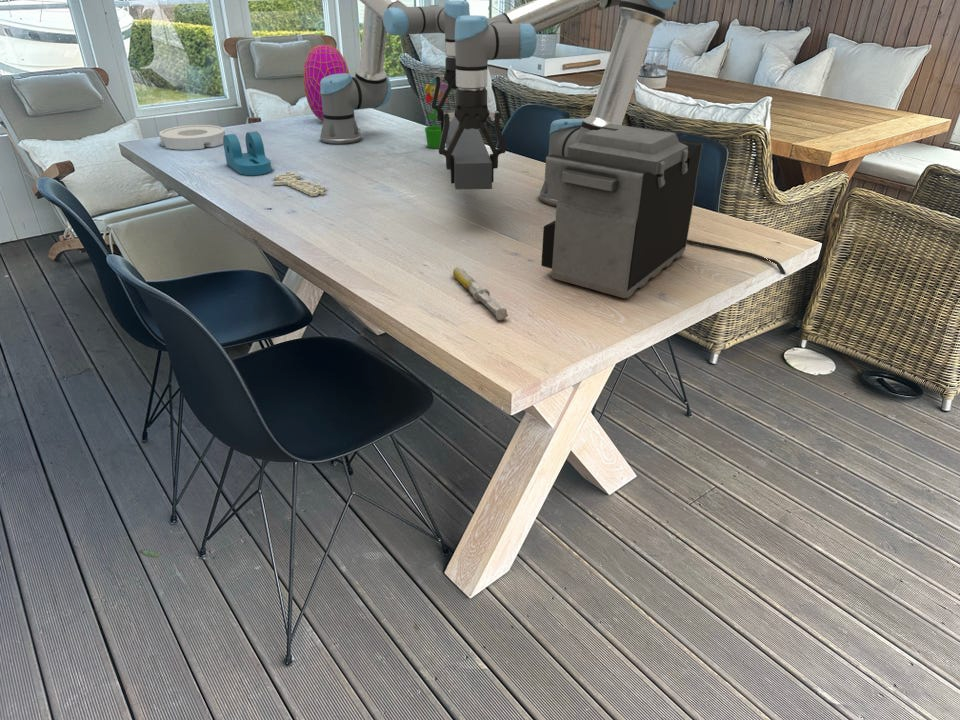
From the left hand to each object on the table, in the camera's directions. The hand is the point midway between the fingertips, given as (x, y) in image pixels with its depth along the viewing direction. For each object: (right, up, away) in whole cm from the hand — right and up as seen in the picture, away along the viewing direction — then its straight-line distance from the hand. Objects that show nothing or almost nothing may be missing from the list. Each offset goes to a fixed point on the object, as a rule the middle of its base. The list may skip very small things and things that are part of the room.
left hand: (457, 131), depth 224 cm
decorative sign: (-49, -21, -12) cm, 55 cm away
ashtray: (-101, +7, +35) cm, 107 cm away
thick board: (+3, -15, -24) cm, 29 cm away
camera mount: (-69, -11, +5) cm, 70 cm away
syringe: (+7, -62, -79) cm, 101 cm away
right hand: (+5, -29, -49) cm, 58 cm away
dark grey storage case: (+39, -53, -64) cm, 92 cm away
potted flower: (-9, +5, +34) cm, 36 cm away
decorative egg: (-57, +27, +70) cm, 94 cm away
